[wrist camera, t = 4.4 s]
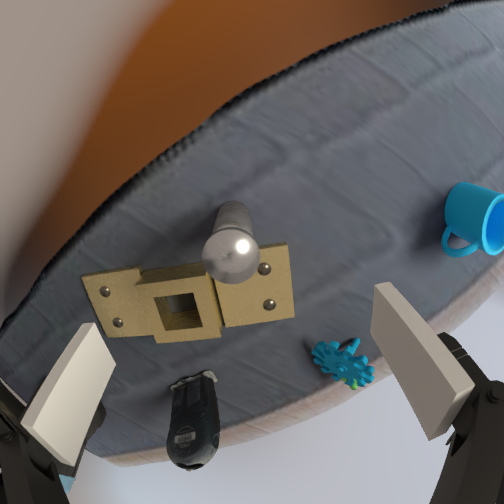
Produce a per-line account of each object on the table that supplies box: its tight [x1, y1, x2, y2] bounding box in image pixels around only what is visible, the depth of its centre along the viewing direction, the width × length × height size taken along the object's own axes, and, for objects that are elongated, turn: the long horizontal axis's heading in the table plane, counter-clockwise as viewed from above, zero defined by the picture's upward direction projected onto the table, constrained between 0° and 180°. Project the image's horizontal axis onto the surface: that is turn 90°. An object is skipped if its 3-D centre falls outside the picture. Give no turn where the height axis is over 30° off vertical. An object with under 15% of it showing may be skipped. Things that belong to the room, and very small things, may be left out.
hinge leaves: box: [81, 242, 295, 343], centre depth 33 cm, size 27×10×4 cm, turn 99°
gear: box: [311, 338, 374, 390], centre depth 37 cm, size 11×6×10 cm
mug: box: [441, 182, 504, 257], centre depth 29 cm, size 12×8×8 cm
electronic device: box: [166, 371, 220, 472], centre depth 34 cm, size 9×6×15 cm, turn 115°
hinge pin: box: [202, 201, 260, 284], centre depth 26 cm, size 4×4×12 cm
